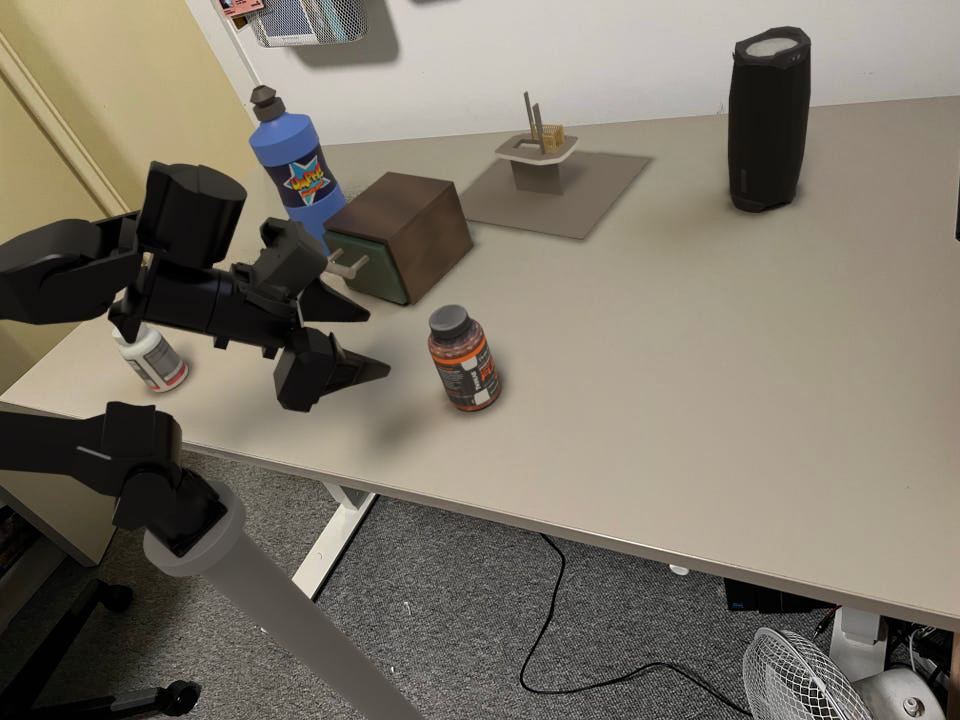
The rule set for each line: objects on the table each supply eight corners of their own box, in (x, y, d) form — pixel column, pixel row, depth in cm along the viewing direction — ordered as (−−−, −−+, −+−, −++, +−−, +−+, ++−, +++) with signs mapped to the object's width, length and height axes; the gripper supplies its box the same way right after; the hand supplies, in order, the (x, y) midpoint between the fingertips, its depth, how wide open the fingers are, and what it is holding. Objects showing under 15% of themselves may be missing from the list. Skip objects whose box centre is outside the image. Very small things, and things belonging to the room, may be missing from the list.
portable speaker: (768, 171, 86) (780, 18, 73) (816, 199, 79) (838, 36, 66) (711, 193, 85) (713, 43, 72) (754, 224, 78) (764, 65, 65)
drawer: (382, 324, 81) (357, 270, 76) (326, 304, 88) (298, 253, 82) (459, 250, 89) (441, 195, 83) (402, 236, 96) (382, 185, 90)
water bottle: (368, 237, 100) (300, 80, 83) (316, 265, 98) (235, 109, 81) (348, 217, 107) (280, 67, 90) (298, 242, 105) (220, 94, 88)
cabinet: (414, 305, 84) (386, 239, 77) (352, 285, 91) (321, 223, 84) (473, 246, 91) (453, 181, 84) (411, 232, 98) (387, 171, 91)
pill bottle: (189, 359, 88) (147, 306, 82) (189, 383, 84) (145, 329, 78) (152, 375, 88) (107, 323, 81) (150, 399, 84) (103, 347, 77)
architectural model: (513, 147, 109) (495, 65, 100) (649, 159, 96) (642, 65, 86) (442, 215, 99) (414, 130, 90) (582, 239, 85) (566, 142, 76)
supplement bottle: (502, 409, 67) (475, 331, 60) (448, 417, 68) (415, 342, 61) (501, 369, 71) (476, 292, 64) (451, 377, 72) (420, 303, 65)
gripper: (246, 276, 43) (443, 329, 51) (234, 173, 56) (390, 228, 65) (200, 400, 47) (387, 430, 56) (199, 277, 61) (349, 316, 69)
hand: (378, 342), depth 61 cm, fingers open, 9 cm apart
